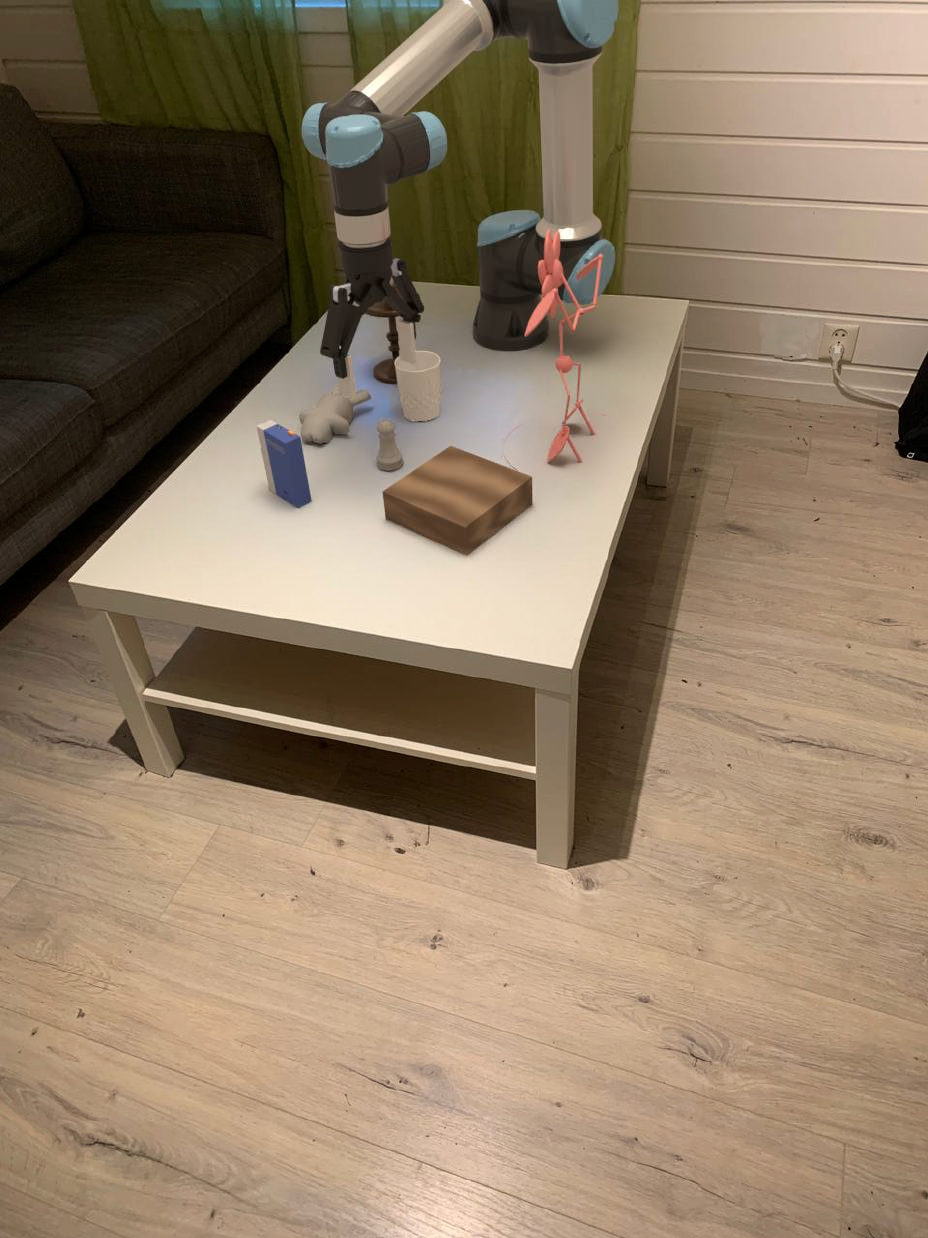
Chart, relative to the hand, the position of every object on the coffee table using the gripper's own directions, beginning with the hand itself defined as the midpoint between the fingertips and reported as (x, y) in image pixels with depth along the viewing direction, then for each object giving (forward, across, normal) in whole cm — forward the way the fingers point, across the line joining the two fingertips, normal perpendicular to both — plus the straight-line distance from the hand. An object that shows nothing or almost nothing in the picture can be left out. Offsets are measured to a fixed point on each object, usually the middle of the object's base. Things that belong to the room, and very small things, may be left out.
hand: (379, 377), depth 155 cm
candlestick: (+16, -25, -21) cm, 37 cm away
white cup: (+16, -16, -7) cm, 24 cm away
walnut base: (+16, +4, +18) cm, 24 cm away
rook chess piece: (+16, 0, 0) cm, 16 cm away
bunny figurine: (+16, -4, -17) cm, 24 cm away
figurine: (+16, -21, +17) cm, 31 cm away
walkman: (+16, +16, -7) cm, 23 cm away
